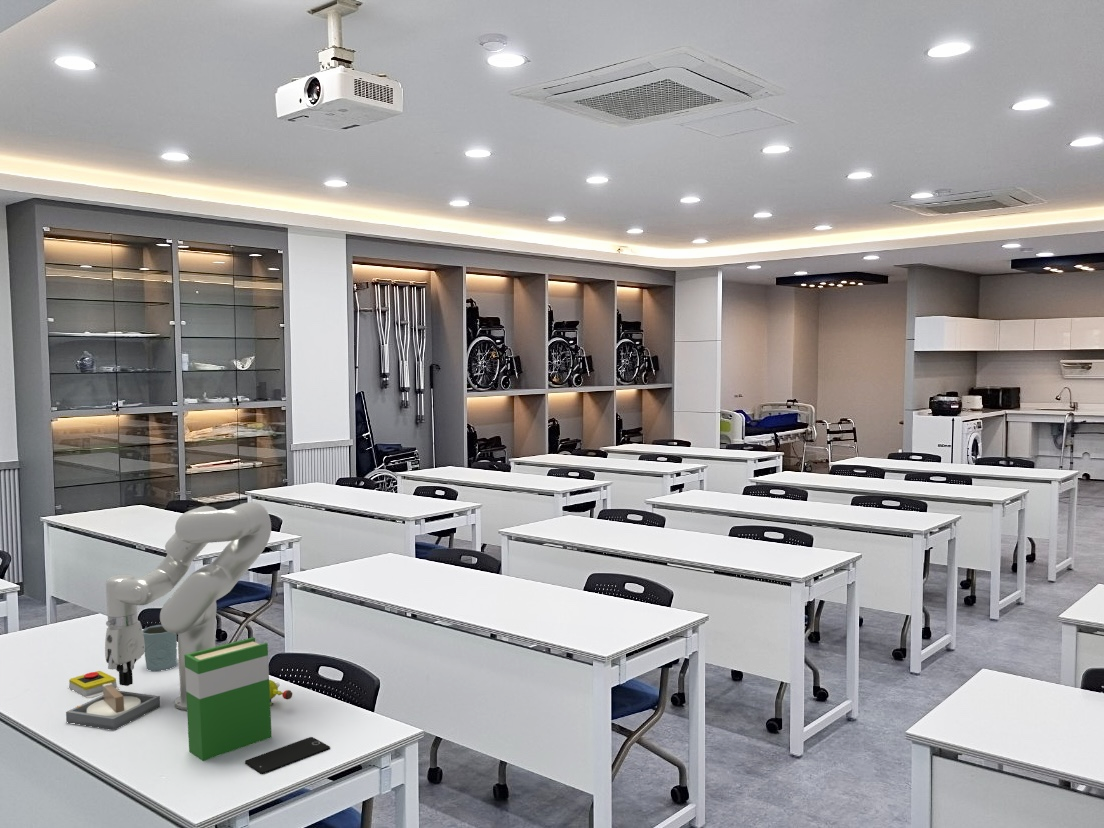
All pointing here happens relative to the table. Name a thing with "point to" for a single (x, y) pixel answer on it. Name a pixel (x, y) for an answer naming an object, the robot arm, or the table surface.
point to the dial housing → (112, 723)
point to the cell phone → (286, 755)
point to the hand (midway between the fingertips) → (126, 684)
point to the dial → (113, 702)
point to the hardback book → (227, 697)
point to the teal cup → (159, 648)
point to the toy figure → (274, 691)
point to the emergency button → (91, 683)
